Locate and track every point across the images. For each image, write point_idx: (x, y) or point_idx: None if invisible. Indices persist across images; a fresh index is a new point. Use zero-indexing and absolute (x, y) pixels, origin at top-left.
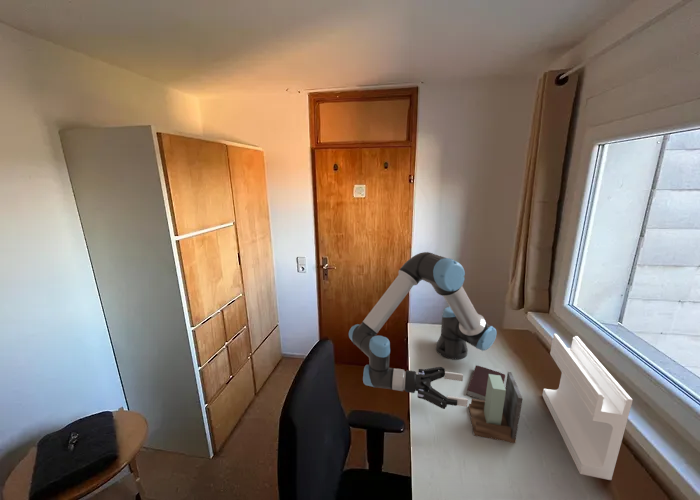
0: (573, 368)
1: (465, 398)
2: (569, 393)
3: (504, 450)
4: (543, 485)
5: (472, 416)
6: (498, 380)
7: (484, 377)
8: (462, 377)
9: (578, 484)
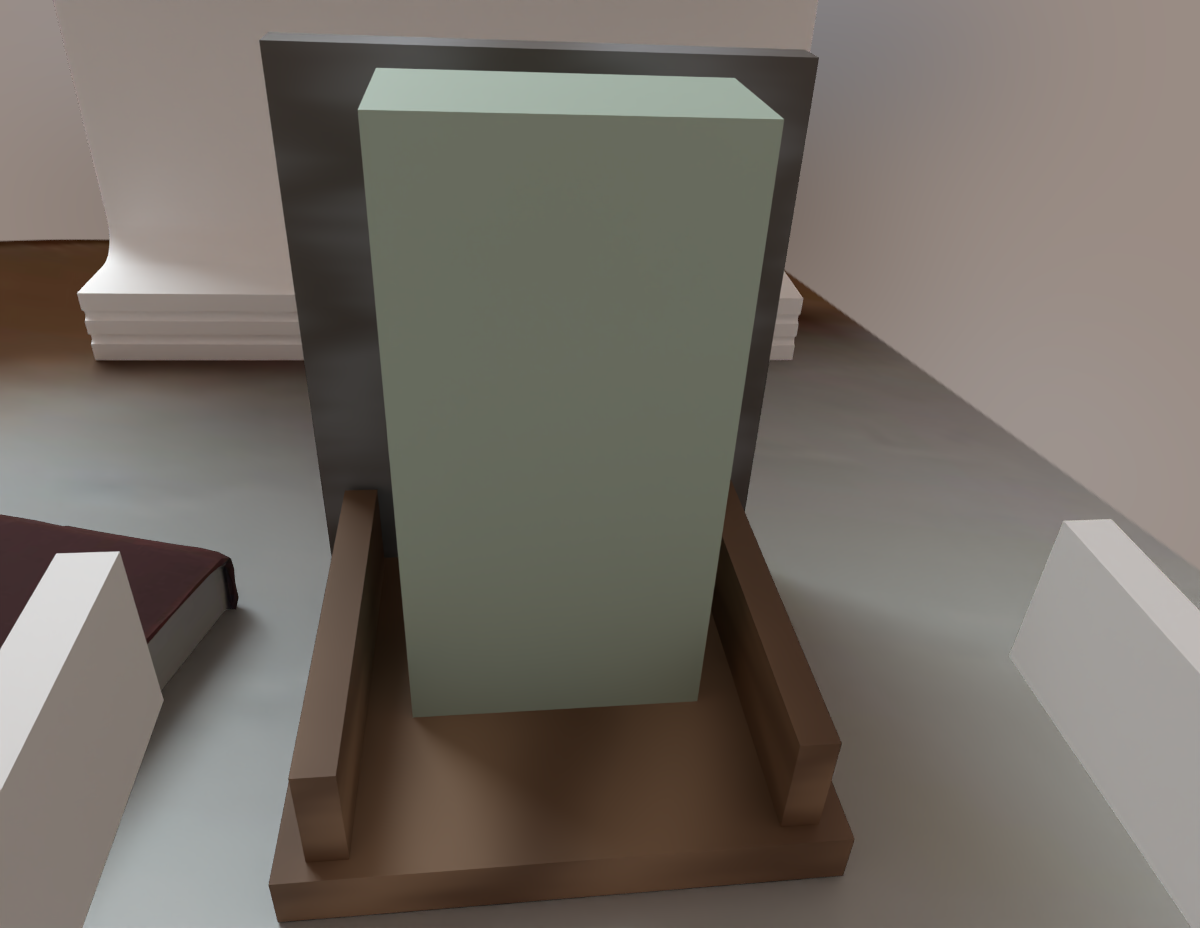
0: None
1: (1097, 546)
2: (271, 150)
3: (865, 630)
4: (1022, 485)
5: (560, 849)
6: (521, 84)
7: None
8: (136, 620)
9: (876, 376)
